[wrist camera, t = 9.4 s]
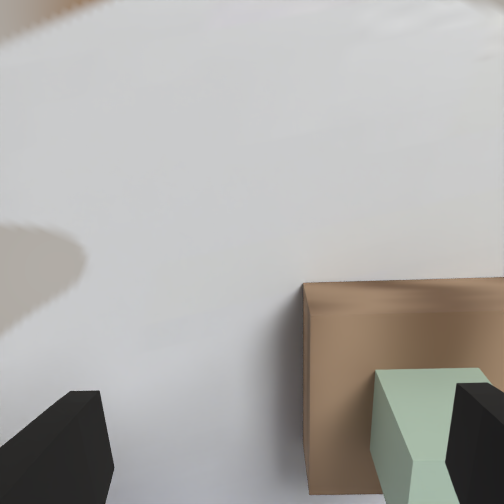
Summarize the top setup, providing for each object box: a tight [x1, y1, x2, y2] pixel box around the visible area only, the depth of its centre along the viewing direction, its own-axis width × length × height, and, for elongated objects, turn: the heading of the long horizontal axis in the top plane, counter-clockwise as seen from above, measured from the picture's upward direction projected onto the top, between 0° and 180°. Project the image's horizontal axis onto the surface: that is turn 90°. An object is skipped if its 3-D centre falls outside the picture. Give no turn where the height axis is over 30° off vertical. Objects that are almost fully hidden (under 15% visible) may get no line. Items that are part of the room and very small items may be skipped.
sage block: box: [370, 368, 492, 504], centre depth 16 cm, size 4×4×4 cm
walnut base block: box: [303, 277, 504, 495], centre depth 19 cm, size 9×9×3 cm
